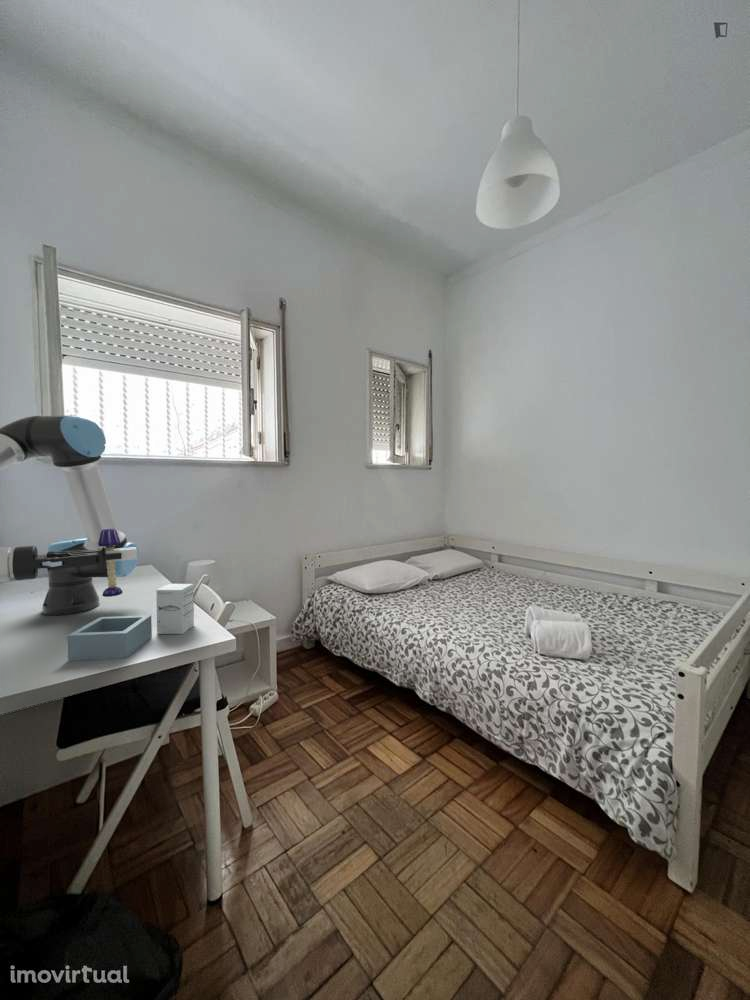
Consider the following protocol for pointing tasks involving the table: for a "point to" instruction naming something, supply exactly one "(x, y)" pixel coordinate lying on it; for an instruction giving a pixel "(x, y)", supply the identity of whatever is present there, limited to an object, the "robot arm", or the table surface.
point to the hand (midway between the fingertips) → (136, 553)
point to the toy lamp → (110, 540)
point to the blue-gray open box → (109, 637)
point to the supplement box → (175, 608)
